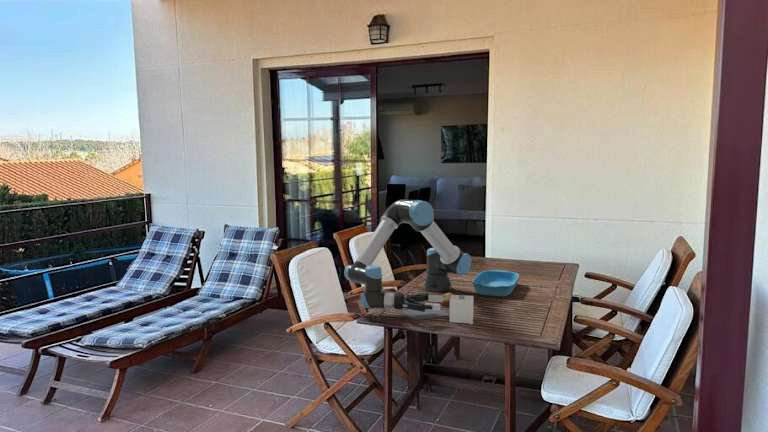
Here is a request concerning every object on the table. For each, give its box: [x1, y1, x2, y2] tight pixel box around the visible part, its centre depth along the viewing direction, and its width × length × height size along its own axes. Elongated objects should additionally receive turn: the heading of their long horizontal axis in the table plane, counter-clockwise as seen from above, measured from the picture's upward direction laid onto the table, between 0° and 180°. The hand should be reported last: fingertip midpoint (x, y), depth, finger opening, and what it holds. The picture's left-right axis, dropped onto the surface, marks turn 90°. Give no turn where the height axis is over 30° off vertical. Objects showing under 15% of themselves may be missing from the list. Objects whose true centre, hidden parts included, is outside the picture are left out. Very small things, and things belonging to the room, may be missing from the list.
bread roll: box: [438, 292, 455, 308], centre depth 250 cm, size 10×10×8 cm
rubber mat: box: [402, 308, 450, 321], centre depth 236 cm, size 18×14×1 cm
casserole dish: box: [471, 269, 520, 297], centre depth 279 cm, size 37×22×7 cm, turn 158°
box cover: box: [449, 294, 474, 325], centre depth 226 cm, size 10×10×11 cm
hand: (441, 302), depth 228 cm, fingers open, 13 cm apart
